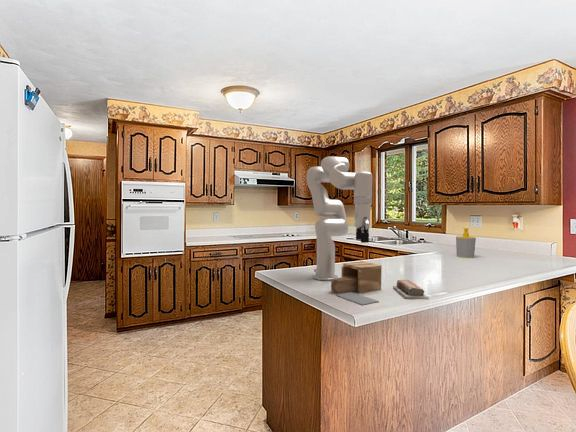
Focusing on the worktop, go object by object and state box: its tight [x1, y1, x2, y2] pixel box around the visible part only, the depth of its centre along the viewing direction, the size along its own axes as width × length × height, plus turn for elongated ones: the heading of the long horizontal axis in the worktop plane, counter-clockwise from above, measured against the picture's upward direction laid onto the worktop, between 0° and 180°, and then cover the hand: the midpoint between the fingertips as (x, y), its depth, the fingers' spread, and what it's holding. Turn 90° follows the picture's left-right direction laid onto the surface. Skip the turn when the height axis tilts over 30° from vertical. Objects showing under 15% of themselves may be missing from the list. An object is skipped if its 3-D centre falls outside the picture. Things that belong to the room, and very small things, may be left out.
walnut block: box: [330, 276, 358, 295], centre depth 157 cm, size 5×14×6 cm, turn 121°
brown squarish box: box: [341, 260, 383, 294], centre depth 161 cm, size 12×13×11 cm
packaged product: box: [392, 279, 430, 300], centre depth 153 cm, size 18×5×10 cm
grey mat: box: [335, 292, 380, 306], centre depth 144 cm, size 16×9×1 cm, turn 31°
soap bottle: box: [455, 227, 477, 259], centre depth 256 cm, size 13×13×21 cm
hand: (362, 241), depth 149 cm, fingers open, 9 cm apart
